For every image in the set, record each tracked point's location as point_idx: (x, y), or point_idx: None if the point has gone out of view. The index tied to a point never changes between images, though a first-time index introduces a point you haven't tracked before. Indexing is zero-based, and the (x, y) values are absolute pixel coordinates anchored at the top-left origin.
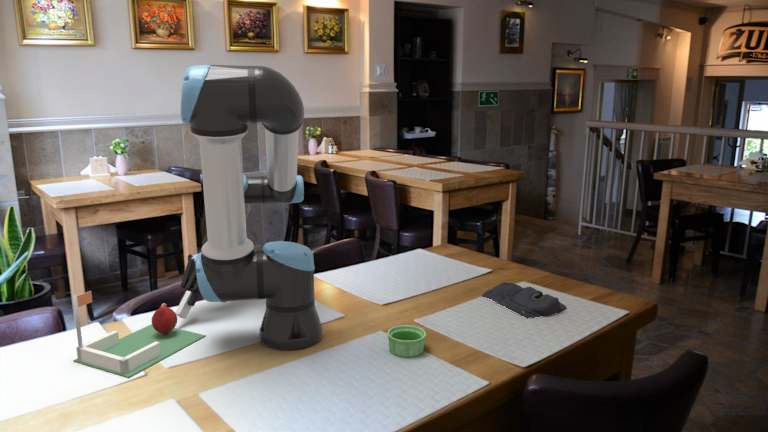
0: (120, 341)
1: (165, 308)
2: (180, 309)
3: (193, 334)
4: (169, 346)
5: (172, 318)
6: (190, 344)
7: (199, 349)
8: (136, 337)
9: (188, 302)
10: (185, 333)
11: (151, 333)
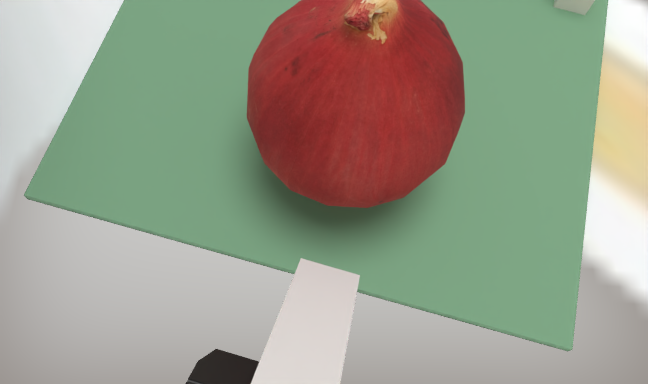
0: (567, 29)
1: (338, 6)
2: (307, 289)
3: (127, 191)
4: (216, 9)
5: (256, 50)
6: (94, 65)
7: (8, 18)
8: (511, 90)
9: (242, 367)
10: (200, 200)
11: (454, 160)
